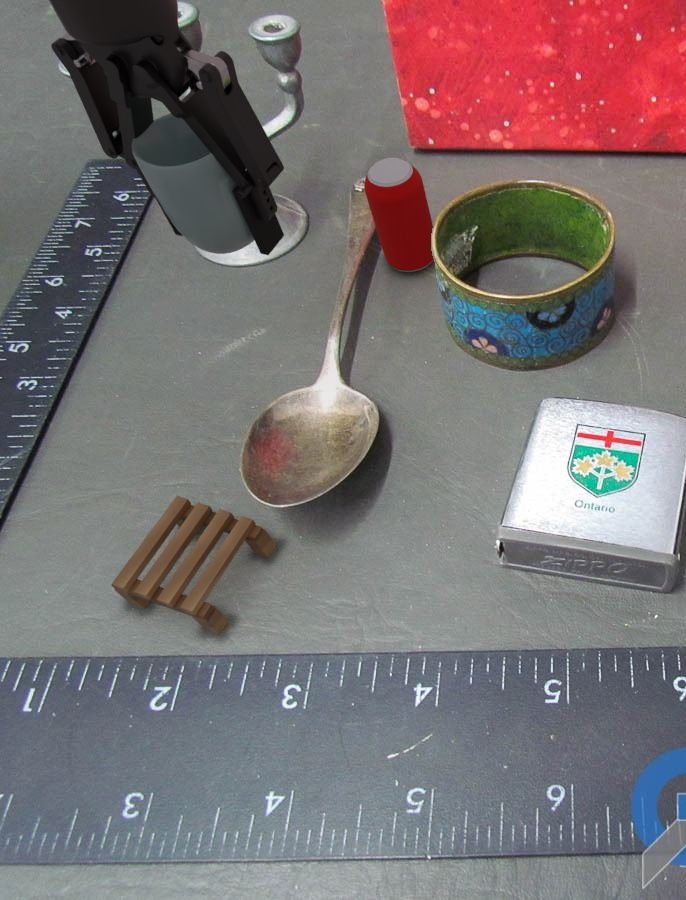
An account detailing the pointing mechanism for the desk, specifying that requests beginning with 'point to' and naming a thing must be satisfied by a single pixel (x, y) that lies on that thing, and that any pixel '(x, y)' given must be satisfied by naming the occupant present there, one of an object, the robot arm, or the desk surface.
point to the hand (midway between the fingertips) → (229, 234)
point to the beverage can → (400, 213)
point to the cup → (191, 186)
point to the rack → (189, 560)
